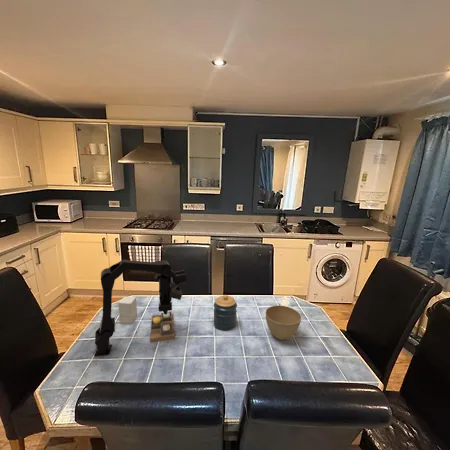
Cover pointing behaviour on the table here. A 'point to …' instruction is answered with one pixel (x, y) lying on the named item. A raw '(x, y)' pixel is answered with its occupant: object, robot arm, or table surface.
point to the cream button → (166, 327)
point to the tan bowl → (282, 321)
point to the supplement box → (127, 310)
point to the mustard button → (156, 320)
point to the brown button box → (157, 330)
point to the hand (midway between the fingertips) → (165, 314)
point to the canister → (225, 313)
